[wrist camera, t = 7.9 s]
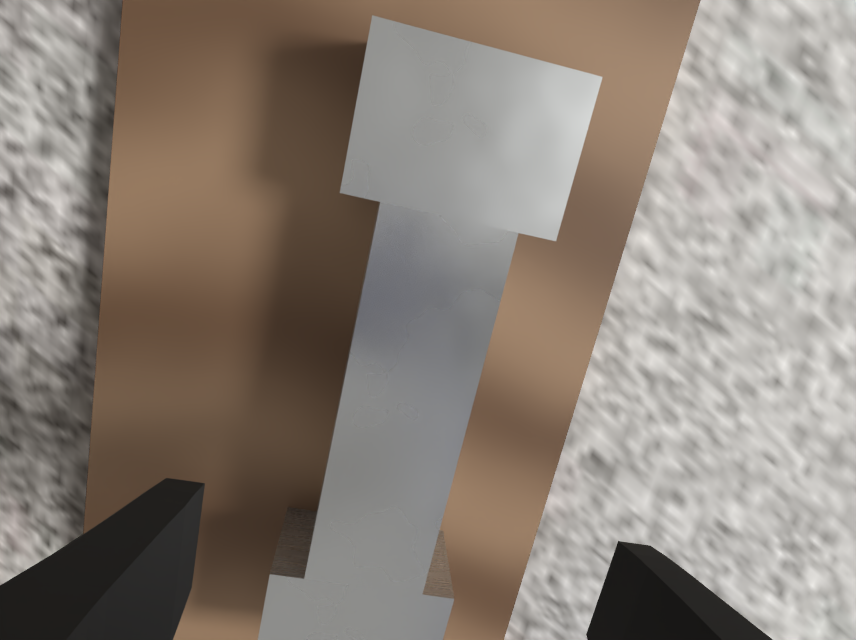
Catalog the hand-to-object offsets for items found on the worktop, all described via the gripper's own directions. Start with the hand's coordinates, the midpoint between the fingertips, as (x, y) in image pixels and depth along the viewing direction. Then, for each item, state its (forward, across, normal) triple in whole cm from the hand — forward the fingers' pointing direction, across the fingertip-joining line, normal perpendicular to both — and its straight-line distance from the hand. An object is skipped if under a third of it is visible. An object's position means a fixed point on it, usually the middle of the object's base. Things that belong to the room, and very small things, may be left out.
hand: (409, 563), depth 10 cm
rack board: (+9, +2, 0) cm, 9 cm away
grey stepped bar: (+8, 0, 0) cm, 8 cm away
